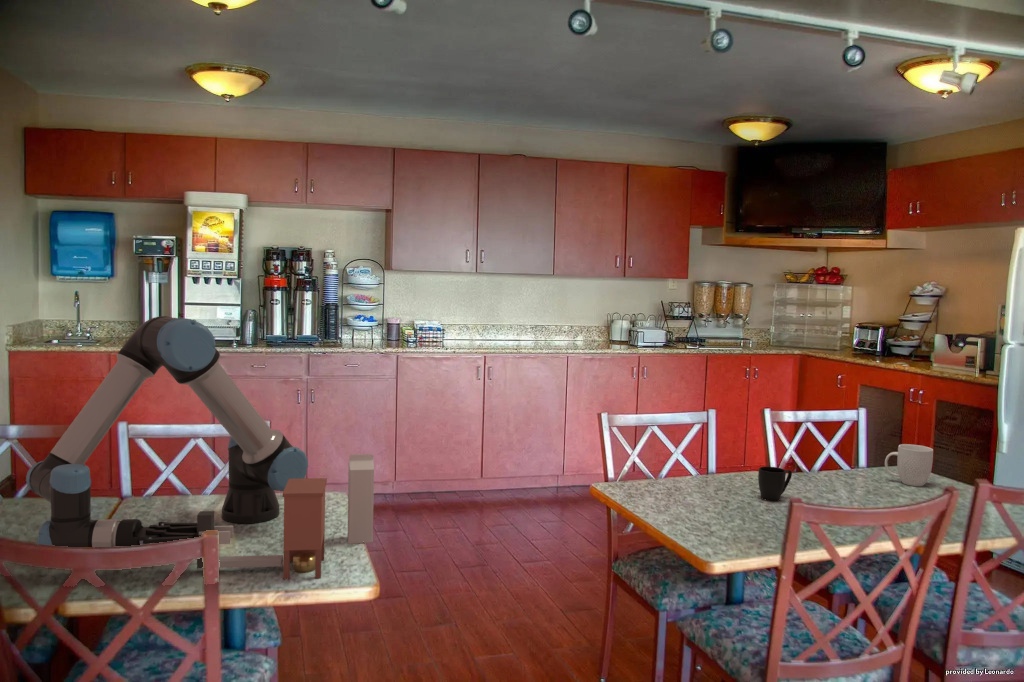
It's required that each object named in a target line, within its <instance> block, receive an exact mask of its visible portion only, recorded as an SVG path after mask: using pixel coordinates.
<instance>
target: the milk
mask: <svg viewBox="0 0 1024 682" xmlns="http://www.w3.org/2000/svg"><path fill="white" fill-rule="evenodd" d="M348 457H349V460H348V473H347V474H348V477H347V478H348V480H347V483H348V485H347V486H348V487H347V491H348V492H347V541H348V544H349V545H351V544H355V545H356V544H371V543H373V542H374V541H373V540H374V536H373V535H374V493H375V492H374V491H375V490H374V489H375V487H374V486H375V485H374V484H375V468H374V467H375V466H374V454H373V453H370V454H369V453H365V454H364V453H361V454H349V455H348ZM363 541H364V543H363Z"/></svg>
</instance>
